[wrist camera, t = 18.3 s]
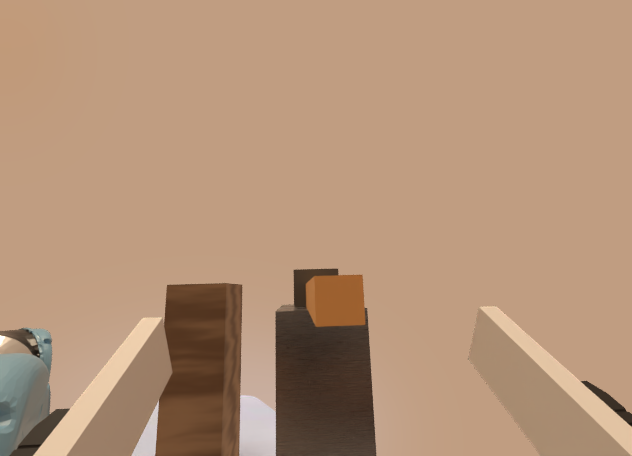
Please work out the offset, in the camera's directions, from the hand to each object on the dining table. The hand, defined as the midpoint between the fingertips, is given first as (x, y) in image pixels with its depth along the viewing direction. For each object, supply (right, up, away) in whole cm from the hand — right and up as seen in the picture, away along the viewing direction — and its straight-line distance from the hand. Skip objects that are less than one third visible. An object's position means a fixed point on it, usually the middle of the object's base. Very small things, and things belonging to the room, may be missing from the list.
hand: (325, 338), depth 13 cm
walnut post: (-16, -32, +29) cm, 46 cm away
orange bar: (0, -2, +14) cm, 14 cm away
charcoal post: (+1, -28, +14) cm, 32 cm away
